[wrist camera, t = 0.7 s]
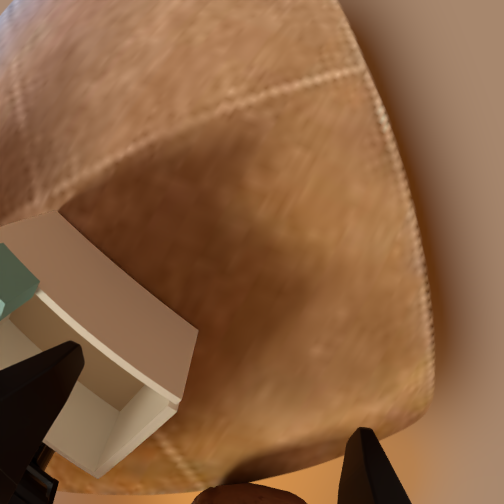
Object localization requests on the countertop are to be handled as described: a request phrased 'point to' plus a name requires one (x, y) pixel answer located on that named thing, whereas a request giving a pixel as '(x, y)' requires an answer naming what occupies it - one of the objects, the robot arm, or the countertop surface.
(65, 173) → the countertop surface
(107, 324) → the carton flap
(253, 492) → the butternut squash
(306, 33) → the countertop surface
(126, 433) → the carton
